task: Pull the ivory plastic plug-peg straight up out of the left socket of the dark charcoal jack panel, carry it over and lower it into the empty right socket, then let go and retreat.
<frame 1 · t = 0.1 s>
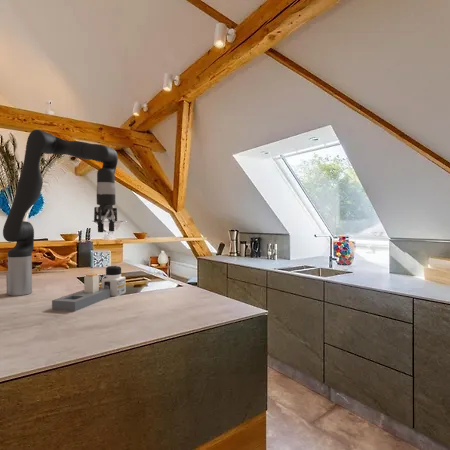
hand: (106, 231, 137), 29 cm above the countertop, fingers open, 8 cm apart
jack panel: (83, 304, 130), on the countertop
container: (113, 295, 145), on the countertop
plug peg: (91, 299, 135), resting on jack panel
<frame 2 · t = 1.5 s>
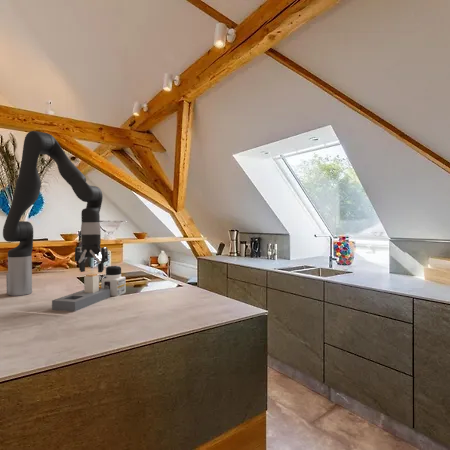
hand: (91, 272, 134), 12 cm above the countertop, fingers open, 8 cm apart
nothing on the countertop moved.
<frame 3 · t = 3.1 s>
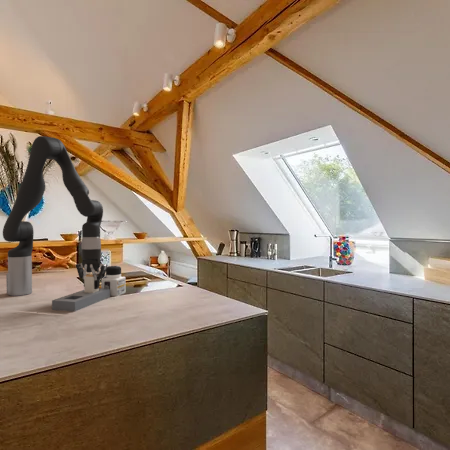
hand: (91, 288, 135), 5 cm above the countertop, fingers closed on plug peg, 4 cm apart
plug peg: (91, 299, 135), point 1 cm above the countertop, touching gripper, jack panel
everything else where it was.
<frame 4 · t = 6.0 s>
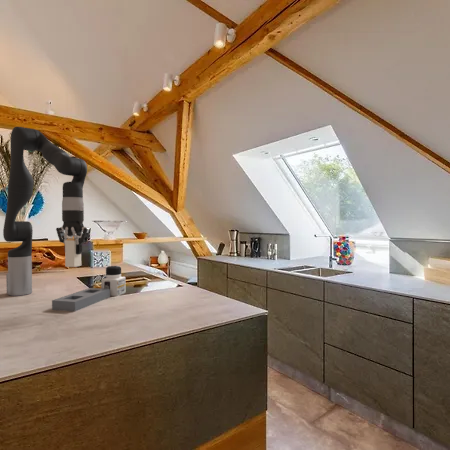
hand: (73, 253, 124), 21 cm above the countertop, fingers closed on plug peg, 4 cm apart
plug peg: (73, 266, 124), point 16 cm above the countertop, touching gripper
everything else where it was.
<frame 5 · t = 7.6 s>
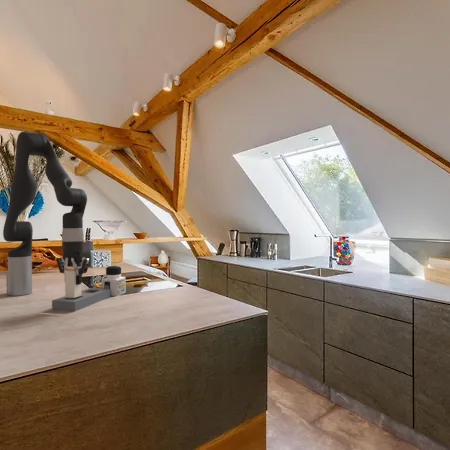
hand: (73, 284, 124), 9 cm above the countertop, fingers closed on plug peg, 4 cm apart
plug peg: (73, 296, 124), point 4 cm above the countertop, touching gripper
everything else where it was.
when the fingers open (6 cm above the countertop, at t = 8.9 s): plug peg stays where it is, resting on jack panel.
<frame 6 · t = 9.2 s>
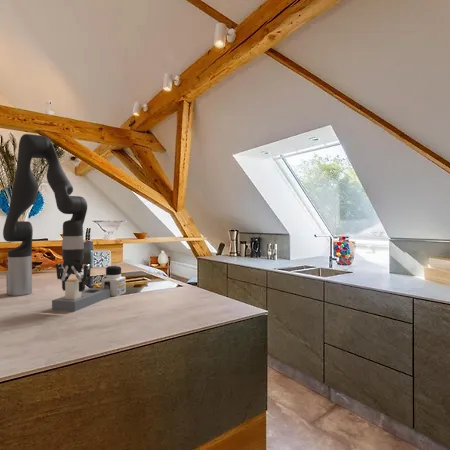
hand: (73, 290, 124), 7 cm above the countertop, fingers open, 6 cm apart
plug peg: (73, 306, 124), resting on jack panel
everything else where it was.
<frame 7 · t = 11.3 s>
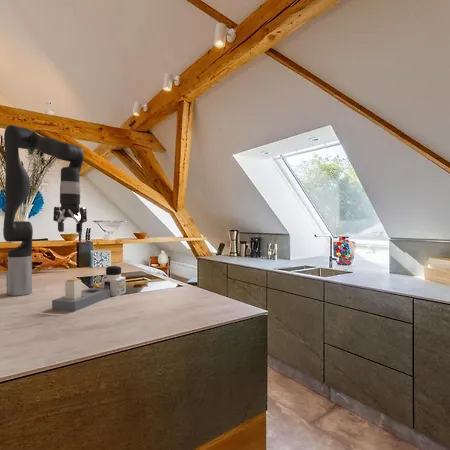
hand: (69, 232, 133), 29 cm above the countertop, fingers open, 8 cm apart
nothing on the countertop moved.
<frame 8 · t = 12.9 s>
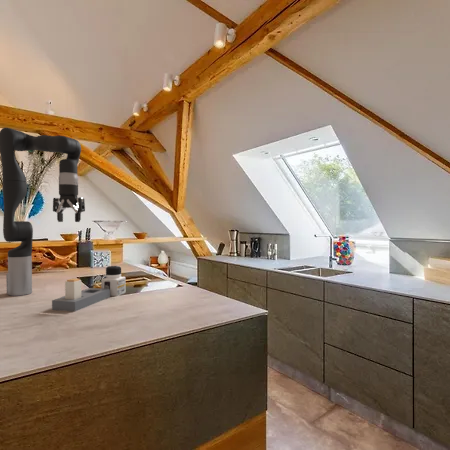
hand: (68, 221, 138), 33 cm above the countertop, fingers open, 8 cm apart
nothing on the countertop moved.
at the end: plug peg 0.1 cm from the target spot on the jack panel, point 0.5 cm above the jack panel's base; plug peg tilted 0°; the gripper is holding nothing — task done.
